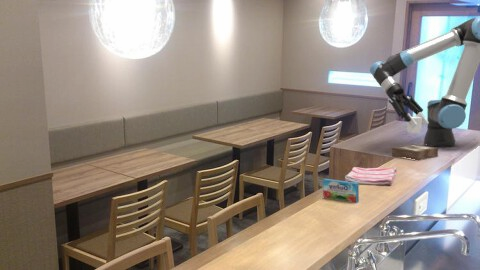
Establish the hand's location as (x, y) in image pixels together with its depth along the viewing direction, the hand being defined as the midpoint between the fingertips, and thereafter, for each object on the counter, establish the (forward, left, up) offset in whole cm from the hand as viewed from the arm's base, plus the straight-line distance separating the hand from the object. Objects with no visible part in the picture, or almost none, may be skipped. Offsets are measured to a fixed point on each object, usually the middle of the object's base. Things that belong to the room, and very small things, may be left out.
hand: (420, 125), depth 207 cm
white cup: (0, -4, -4) cm, 5 cm away
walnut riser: (0, -3, -15) cm, 15 cm away
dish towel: (+43, +12, -15) cm, 47 cm away
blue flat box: (+72, +27, -15) cm, 78 cm away
